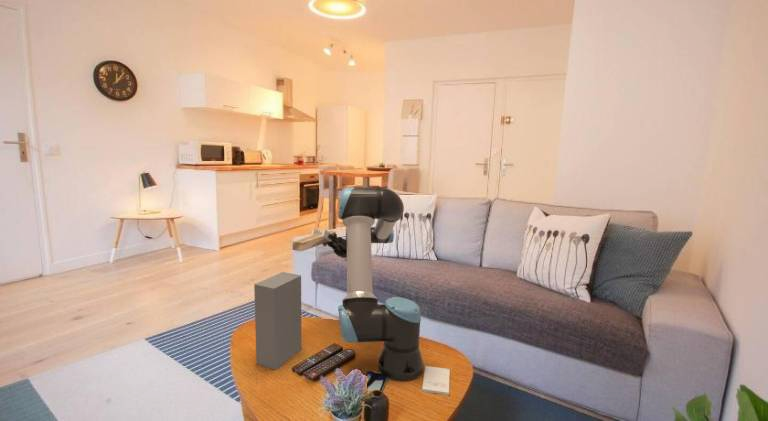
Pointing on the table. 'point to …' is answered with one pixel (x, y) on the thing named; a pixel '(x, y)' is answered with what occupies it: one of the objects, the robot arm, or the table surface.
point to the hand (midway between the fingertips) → (318, 232)
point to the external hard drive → (436, 380)
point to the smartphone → (376, 380)
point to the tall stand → (278, 319)
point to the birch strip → (310, 241)
